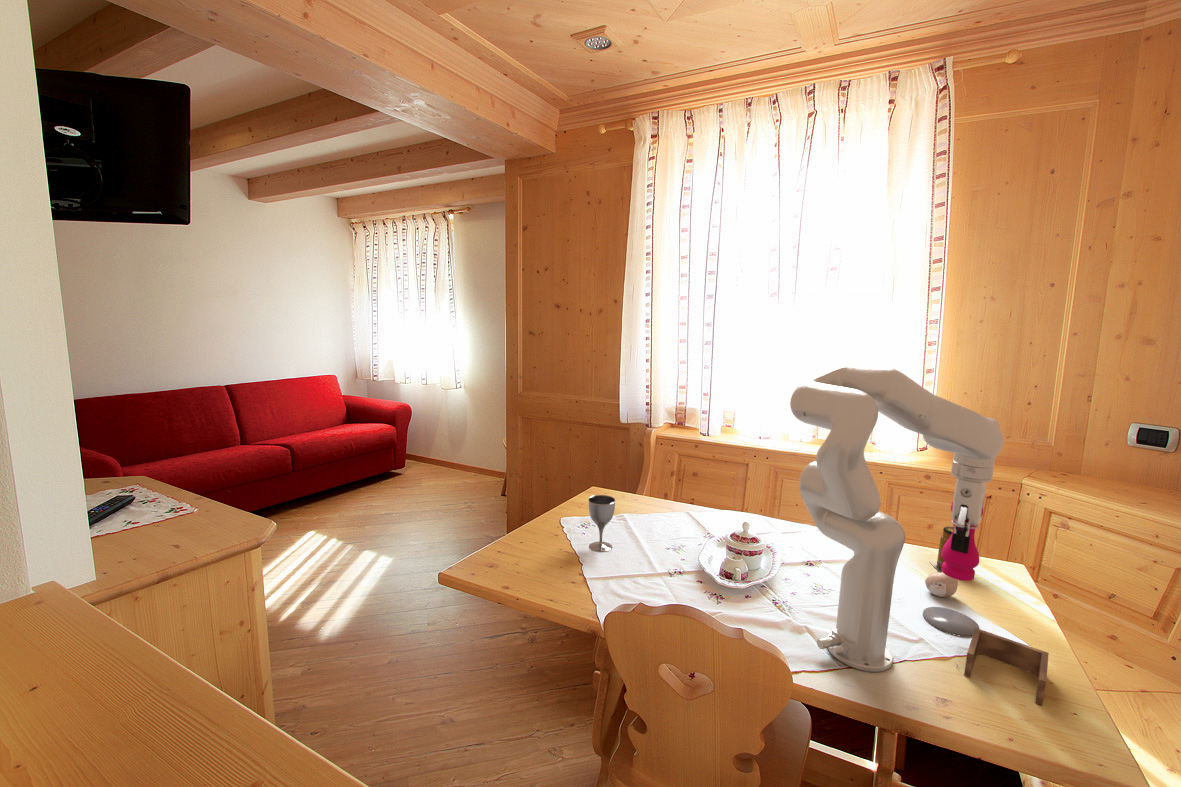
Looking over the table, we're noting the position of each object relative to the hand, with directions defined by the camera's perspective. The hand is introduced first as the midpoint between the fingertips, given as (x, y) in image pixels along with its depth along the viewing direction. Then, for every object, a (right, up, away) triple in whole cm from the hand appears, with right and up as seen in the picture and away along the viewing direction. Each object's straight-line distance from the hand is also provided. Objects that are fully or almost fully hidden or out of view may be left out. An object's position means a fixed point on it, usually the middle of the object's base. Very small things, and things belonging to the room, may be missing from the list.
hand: (961, 546), depth 121 cm
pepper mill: (0, -7, +1) cm, 7 cm away
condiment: (+17, -15, +28) cm, 36 cm away
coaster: (0, -19, +3) cm, 19 cm away
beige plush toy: (+5, -17, +15) cm, 24 cm away
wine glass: (-82, -11, +38) cm, 91 cm away
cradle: (-2, -22, -15) cm, 27 cm away
